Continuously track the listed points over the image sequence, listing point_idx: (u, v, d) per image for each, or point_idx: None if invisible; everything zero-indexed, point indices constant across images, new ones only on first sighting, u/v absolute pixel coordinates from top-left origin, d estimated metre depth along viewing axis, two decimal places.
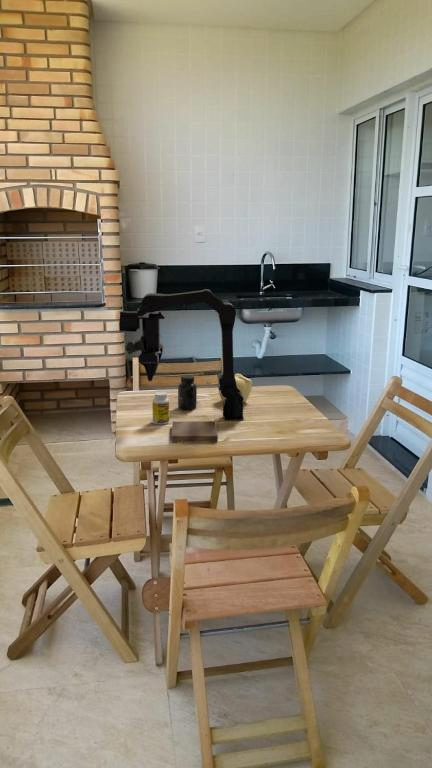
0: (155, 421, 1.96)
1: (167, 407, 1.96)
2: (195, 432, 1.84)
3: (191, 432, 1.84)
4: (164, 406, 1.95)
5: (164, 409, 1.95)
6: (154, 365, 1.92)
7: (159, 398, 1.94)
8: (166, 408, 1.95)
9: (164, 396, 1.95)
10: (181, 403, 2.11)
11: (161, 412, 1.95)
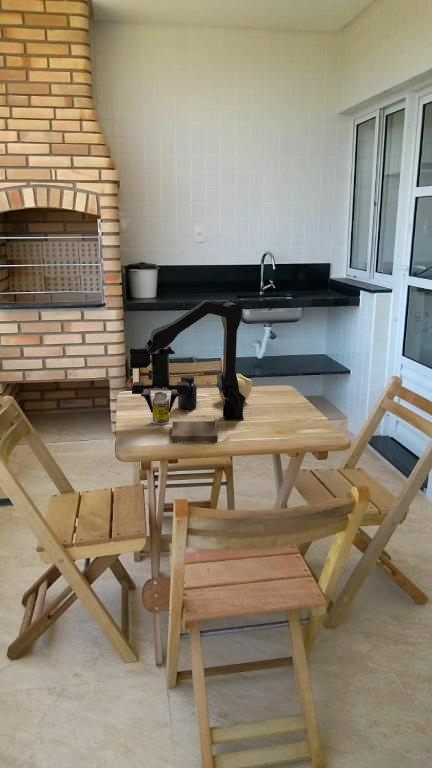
0: (155, 421, 1.96)
1: (167, 407, 1.96)
2: (195, 432, 1.84)
3: (191, 432, 1.84)
4: (164, 406, 1.95)
5: (164, 409, 1.95)
6: None
7: (159, 398, 1.94)
8: (166, 408, 1.95)
9: (164, 396, 1.95)
10: (181, 403, 2.11)
11: (161, 412, 1.95)
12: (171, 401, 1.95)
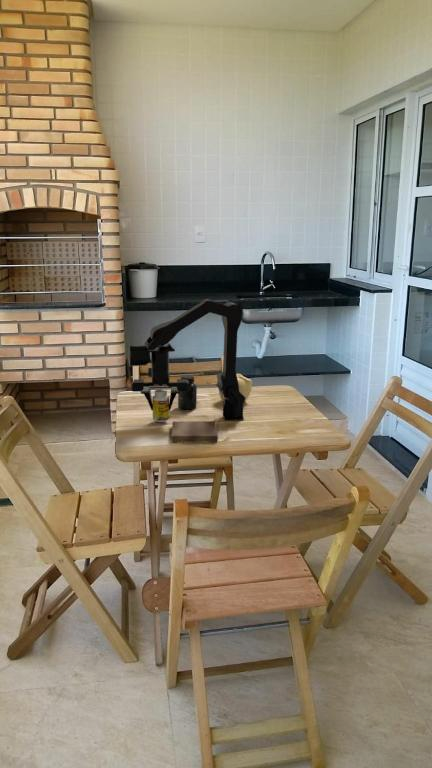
0: (155, 418, 1.96)
1: (167, 405, 1.96)
2: (195, 432, 1.84)
3: (191, 432, 1.84)
4: (164, 403, 1.94)
5: (164, 406, 1.95)
6: None
7: (159, 395, 1.94)
8: (166, 405, 1.95)
9: (164, 393, 1.95)
10: (181, 403, 2.11)
11: (161, 409, 1.95)
12: (171, 398, 1.94)
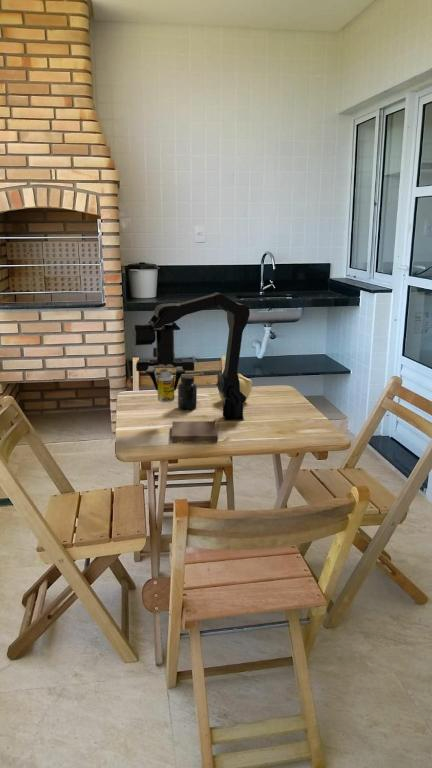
0: (160, 399, 1.92)
1: (172, 385, 1.92)
2: (195, 432, 1.84)
3: (191, 432, 1.84)
4: (169, 383, 1.91)
5: (169, 386, 1.91)
6: None
7: (164, 375, 1.91)
8: (171, 385, 1.91)
9: (169, 373, 1.91)
10: (181, 403, 2.11)
11: (166, 389, 1.91)
12: (176, 378, 1.91)
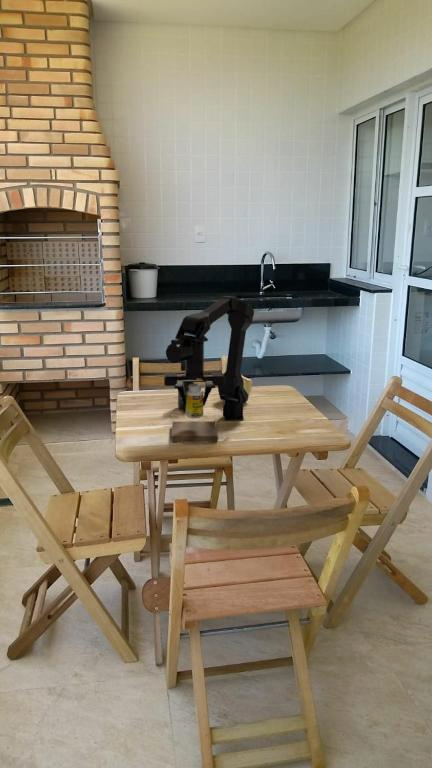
0: (189, 415, 1.84)
1: (201, 400, 1.83)
2: (195, 432, 1.84)
3: (191, 432, 1.84)
4: (198, 398, 1.82)
5: (198, 402, 1.82)
6: None
7: (193, 390, 1.82)
8: (200, 400, 1.83)
9: (198, 388, 1.82)
10: (181, 403, 2.11)
11: (196, 404, 1.82)
12: (206, 393, 1.82)
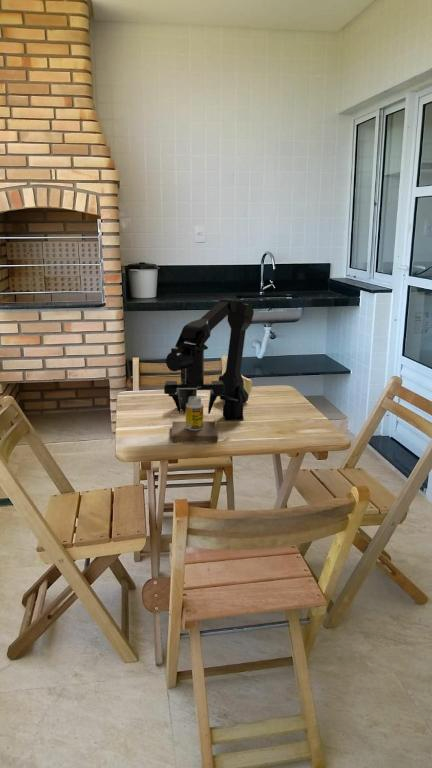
0: (189, 427, 1.85)
1: (201, 412, 1.84)
2: (195, 432, 1.84)
3: (191, 432, 1.84)
4: (198, 411, 1.83)
5: (198, 414, 1.84)
6: None
7: (193, 402, 1.83)
8: (200, 413, 1.84)
9: (198, 400, 1.83)
10: (181, 403, 2.11)
11: (195, 417, 1.83)
12: (211, 401, 1.83)
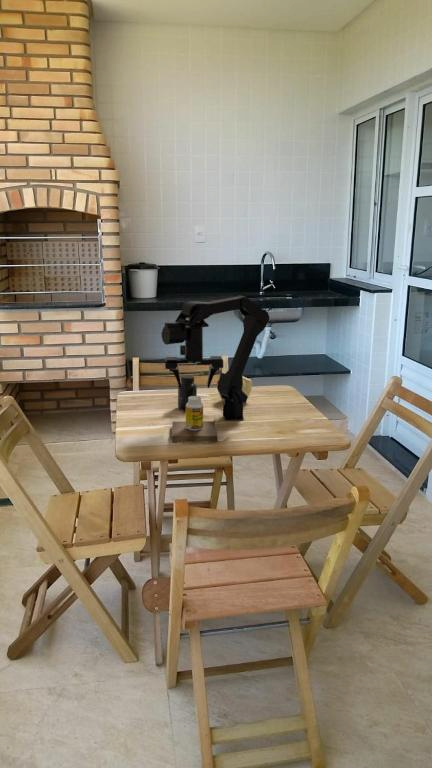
0: (189, 427, 1.85)
1: (201, 412, 1.84)
2: (195, 432, 1.84)
3: (191, 432, 1.84)
4: (198, 411, 1.83)
5: (198, 414, 1.84)
6: (174, 372, 1.90)
7: (193, 402, 1.83)
8: (200, 413, 1.84)
9: (198, 400, 1.83)
10: (181, 403, 2.11)
11: (195, 417, 1.83)
12: (210, 376, 1.91)
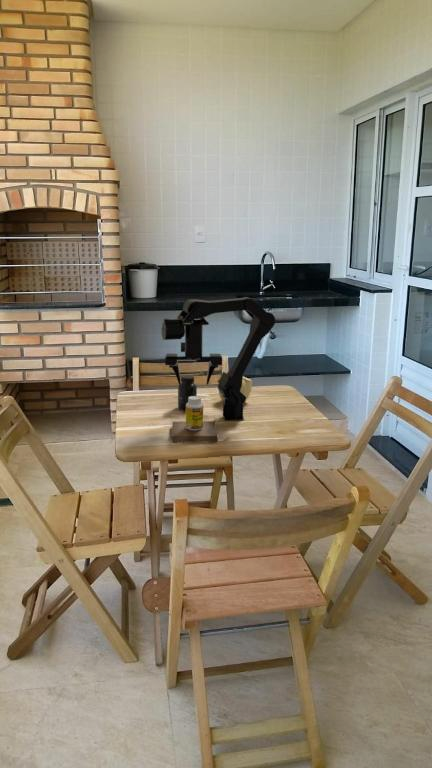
0: (189, 427, 1.85)
1: (201, 412, 1.84)
2: (195, 432, 1.84)
3: (191, 432, 1.84)
4: (198, 411, 1.83)
5: (198, 414, 1.84)
6: None
7: (193, 402, 1.83)
8: (200, 413, 1.84)
9: (198, 400, 1.83)
10: (181, 403, 2.11)
11: (195, 417, 1.83)
12: (209, 372, 1.94)
